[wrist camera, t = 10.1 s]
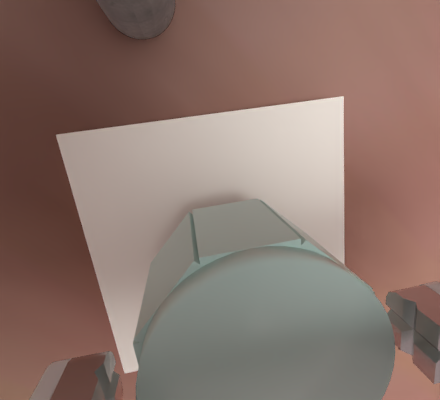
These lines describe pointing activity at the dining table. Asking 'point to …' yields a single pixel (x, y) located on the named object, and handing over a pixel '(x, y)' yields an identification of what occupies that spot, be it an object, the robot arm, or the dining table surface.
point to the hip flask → (139, 16)
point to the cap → (257, 315)
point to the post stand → (199, 187)
